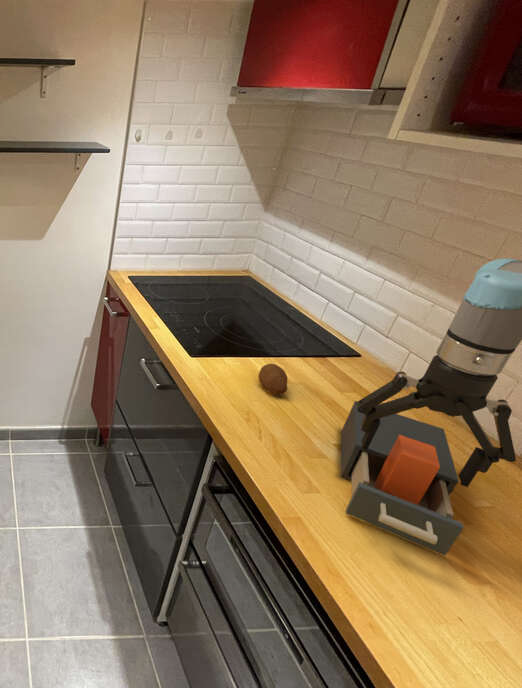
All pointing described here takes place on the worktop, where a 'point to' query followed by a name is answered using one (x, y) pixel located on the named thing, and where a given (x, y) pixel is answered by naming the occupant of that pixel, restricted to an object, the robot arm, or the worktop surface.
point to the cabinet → (387, 438)
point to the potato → (273, 379)
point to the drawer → (403, 508)
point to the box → (408, 470)
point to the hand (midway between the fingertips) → (411, 462)
